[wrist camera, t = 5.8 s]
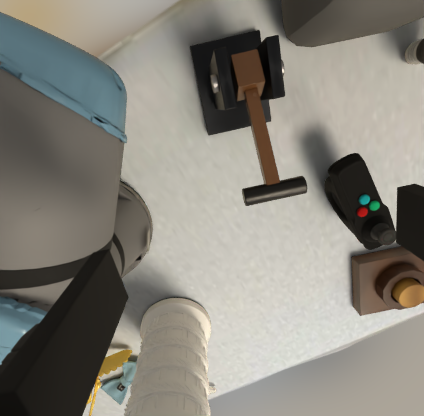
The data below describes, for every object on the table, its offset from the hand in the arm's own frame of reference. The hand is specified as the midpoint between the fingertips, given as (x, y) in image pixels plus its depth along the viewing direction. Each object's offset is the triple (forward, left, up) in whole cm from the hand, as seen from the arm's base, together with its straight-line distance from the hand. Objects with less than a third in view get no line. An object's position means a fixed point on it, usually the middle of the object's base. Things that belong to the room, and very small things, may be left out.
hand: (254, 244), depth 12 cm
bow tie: (-26, -33, -25) cm, 49 cm away
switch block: (+23, -25, -25) cm, 43 cm away
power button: (+23, -25, -22) cm, 41 cm away
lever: (+3, +3, -13) cm, 14 cm away
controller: (+15, -8, -25) cm, 31 cm away
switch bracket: (+3, +8, -25) cm, 27 cm away
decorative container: (-13, -26, -25) cm, 39 cm away
